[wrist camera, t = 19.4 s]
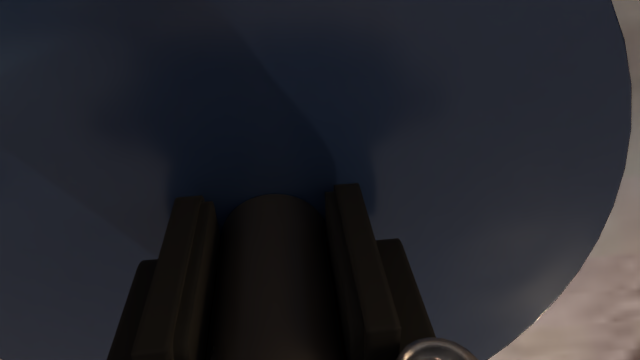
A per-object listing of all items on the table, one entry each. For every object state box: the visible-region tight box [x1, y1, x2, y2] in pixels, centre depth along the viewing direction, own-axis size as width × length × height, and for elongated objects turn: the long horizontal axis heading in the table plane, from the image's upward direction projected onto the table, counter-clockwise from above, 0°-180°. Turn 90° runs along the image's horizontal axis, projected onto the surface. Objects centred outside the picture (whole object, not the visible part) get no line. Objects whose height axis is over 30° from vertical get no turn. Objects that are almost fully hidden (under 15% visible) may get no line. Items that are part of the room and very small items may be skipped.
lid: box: [0, 0, 631, 360], centre depth 9 cm, size 16×16×6 cm
